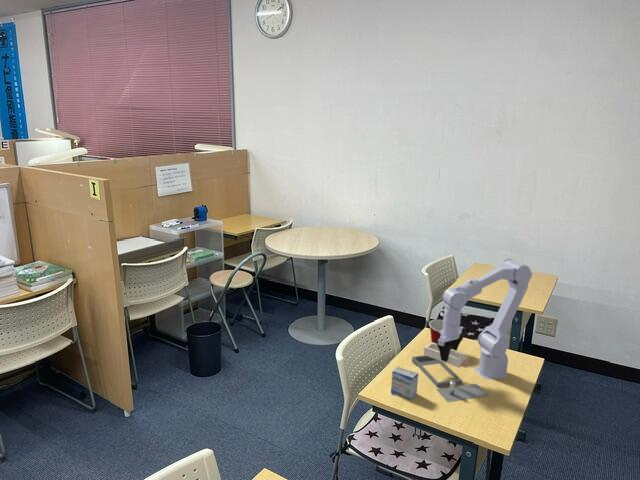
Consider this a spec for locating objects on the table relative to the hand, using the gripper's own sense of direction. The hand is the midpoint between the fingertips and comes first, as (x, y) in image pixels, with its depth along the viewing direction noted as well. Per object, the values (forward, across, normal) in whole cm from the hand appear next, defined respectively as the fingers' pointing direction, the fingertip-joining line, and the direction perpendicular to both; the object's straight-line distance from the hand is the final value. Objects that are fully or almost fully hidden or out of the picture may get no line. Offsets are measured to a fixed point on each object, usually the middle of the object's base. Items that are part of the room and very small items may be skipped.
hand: (448, 357), depth 169 cm
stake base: (+9, +4, +8) cm, 13 cm away
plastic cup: (+9, -18, -12) cm, 24 cm away
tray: (+9, -2, -5) cm, 11 cm away
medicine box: (+9, +19, -6) cm, 22 cm away
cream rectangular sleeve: (+1, 0, -1) cm, 1 cm away
